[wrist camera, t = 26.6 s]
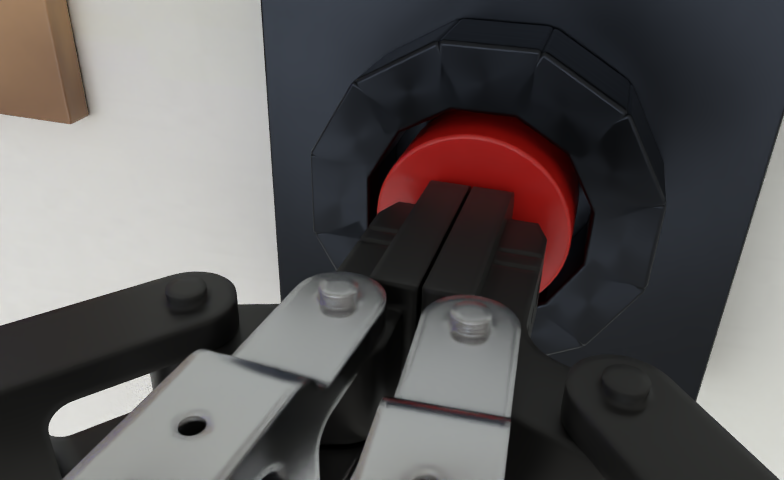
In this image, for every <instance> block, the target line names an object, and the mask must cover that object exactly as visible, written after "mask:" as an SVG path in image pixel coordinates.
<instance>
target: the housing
mask: <svg viewBox="0 0 784 480" xmlns="http://www.w3.org/2000/svg"><path fill="white" fill-rule="evenodd" d="M261 12H262V27H263V42H264V57H265V72H266V86H267V101H268V116H269V131H270V146H271V161H272V176H273V191H274V205H275V220H276V235H277V250H278V265H279V280H280V295H281V302H282V301H283V300H284V299H285V298H286V297H287V296H288V295H289V293H290V292H291V291H292V290H293V289H294V288H295V287H296V286H297V285H298V284H299V283H301V282H302V281H304V280H305V279H307V278H310V277H312V276H315V275H318V274H322V273H327V272H336V271H337V270H338V268H339V267H340V265H341V264H342V263H343V261H344V260H345V259H346V257H347V256H348V254H349V253H350V252H351V250H352V249H353V247H354V246H355V245H356V243H357V242H358V241H360V238H361V236H362V235H363V234H364V232H365V231H366V229H368V228H369V225H370V224H371V222H372V221H373V220H374V218H375V217H376V215H377V206H378V198H379V194H380V190H381V187H382V185H383V182H384V180H385V178H386V176H387V174H388V173H389V171H390V169H391V168H392V167H393V166H394V164H395V163H396V162H397V160H398V159H399V158H400V156H401V155H402V154H403V153H404V151H405V150H406V149H407V147H408V146H409V145H410V143H411V142H412V141H413V140H414V138H415V137H416V136H417V135H418V133H419V132H420V131H421V130H422V129H423V128H424V127H425V126H426V125H427V124H428V123H430V122H431V121H432V120H434V119H435V118H437V117H438V116H440V115H442V114H444V113H446V112H449V111H451V110H458V111H466V112H474V113H483V114H491V115H499V116H507V117H515V118H517V119H519V120H520V121H521V122H523V123H524V124H526V125H527V126H528V127H530V128H531V129H533V130H534V131H535V132H537V133H538V134H540V135H541V136H542V137H544V138H545V139H546V140H548V141H549V142H551V143H552V144H553V145H555V146H556V147H558V148H559V149H560V150H562V151H563V152H565V153H566V154H567V155H568V157H569V160H570V162H571V164H572V166H573V169H574V171H575V173H576V175H577V178H578V183H579V200H578V208H577V213H576V219H575V224H574V230H573V235H572V241H571V246H570V250H569V254H568V256H567V259H566V261H565V264H564V266H563V267H562V269H561V271H560V272H559V274H558V275H557V277H556V278H555V279H554V280H553V281H552V282H551V284H550V285H548V286H547V287H546V288H545V289H544V290H543V291H542V292H540V293H539V298H538V304H537V311H536V315H535V320H534V324H533V328H532V333H531V337H530V339H531V340H532V342H533V343H534V344H535V345H536V346H537V347H538V348H539V349H540V350H541V351H542V352H543V353H545V354H546V355H547V356H549V357H551V358H552V359H554V360H556V361H558V362H560V363H562V364H564V365H566V366H569V367H572V366H573V365H574V364H576V363H577V362H578V361H580V360H582V359H584V358H587V357H590V356H595V355H604V354H612V355H621V356H627V357H631V358H635V359H638V360H641V361H643V362H646V363H648V364H650V365H652V366H654V367H656V368H657V369H659V370H661V371H662V372H663V373H665V374H666V375H667V376H668V377H670V378H671V379H672V380H673V381H674V382H675V383H676V384H677V385H678V386H679V387H680V388H681V389H683V390H684V391H685V392H686V393H687V394H688V395H689V396H690V397H691V398H692V399H693V400H694V401H695V402H696V400H697V397H698V393H699V390H700V387H701V384H702V380H703V377H704V374H705V371H706V367H707V364H708V361H709V358H710V354H711V351H712V348H713V344H714V341H715V338H716V335H717V331H718V328H719V325H720V322H721V318H722V315H723V312H724V309H725V305H726V302H727V299H728V296H729V292H730V289H731V286H732V282H733V279H734V276H735V273H736V269H737V266H738V263H739V260H740V256H741V253H742V250H743V247H744V243H745V240H746V237H747V234H748V230H749V227H750V224H751V220H752V217H753V214H754V211H755V207H756V204H757V201H758V198H759V194H760V191H761V188H762V185H763V181H764V178H765V175H766V172H767V168H768V165H769V162H770V158H771V155H772V152H773V149H774V145H775V142H776V139H777V136H778V132H779V129H780V126H781V123H782V119H783V116H784V0H261Z"/></svg>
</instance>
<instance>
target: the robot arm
mask: <svg viewBox="0 0 784 480" xmlns="http://www.w3.org/2000/svg"><path fill="white" fill-rule="evenodd" d="M513 207H514V192H508V191H502V190H495V189H488V188H482V187H475V186H473V188H471V186H467V185H461V184H454V183H447V182H440V181H434V180H431V181H430V182H429V183H428V185H427V187H426V188H425V190H424V191H423V193H422V194H421V196H420V198H419V199H418V201H417V202H416V204H411V203H405V202H397V203H395V204H393V205H391V206H389V207H388V208H386V209H384V210H382V211H380V212H379V213H378V214H377V215H376V217H375V218H374V220H373V221H372V222H371V224H370V225H369V228H368V229H366V231H365V232H364V234H363V235H362V236H361V238H360V241H358V242H357V243H356V245H355V246H354V247H353V249H352V250H351V252H350V253H349V254H348V256H347V257H346V259H345V260H344V261H343V263H342V264H341V265H340V267H339V268H338V270H337V271H336V272H327V273H322V274H318V275H315V276H312V277H310V278H307V279H305V280H304V281H302V282H301V283H299V284H298V285H297V286H296V287H295V288H294V289H293V290H292V291H291V292H290V293H289V295H288V296H287V297H286V298H285V299H284V300H283V301H282V302H281V303H280V304H243V305H238V302H237V292H236V288H235V286H234V285H233V283H232V282H231V281H229V280H228V279H226V278H225V277H223V276H220V275H218V274H213V273H208V272H185V273H179V274H175V275H171V276H167V277H164V278H160V279H157V280H154V281H150V282H147V283H143V284H140V285H137V286H133V287H130V288H127V289H123V290H120V291H116V292H113V293H110V294H106V295H103V296H100V297H96V298H93V299H89V300H86V301H83V302H79V303H76V304H73V305H69V306H66V307H62V308H59V309H56V310H52V311H49V312H45V313H42V314H39V315H35V316H32V317H29V318H25V319H22V320H18V321H15V322H12V323H8V324H5V325H2V326H0V480H779V479H778V478H777V477H776V476H775V475H774V474H773V473H772V472H771V471H770V470H769V469H767V468H766V467H765V466H764V465H763V464H762V463H761V462H760V461H759V460H758V459H757V458H756V457H755V456H754V455H752V454H751V453H750V452H749V451H748V450H747V449H746V448H745V447H744V446H743V445H742V444H741V443H740V442H738V441H737V440H736V439H735V438H734V437H733V436H732V435H731V434H730V433H729V432H728V431H727V430H726V429H724V428H723V427H722V426H721V425H720V424H719V423H718V422H717V421H716V420H715V419H714V418H713V417H712V416H711V415H709V414H708V413H707V412H706V411H705V410H704V409H703V408H702V407H701V406H700V405H699V404H698V403H697V402H695V401H694V400H693V399H692V398H691V397H690V396H689V395H688V394H687V393H686V392H685V391H684V390H683V389H681V388H680V387H679V386H678V385H677V384H676V383H675V382H674V381H673V380H672V379H671V378H670V377H668V376H667V375H666V374H665V373H663V372H662V371H661V370H659V369H657V368H656V367H654V366H652V365H650V364H648V363H646V362H643V361H641V360H638V359H635V358H631V357H627V356H621V355H612V354H604V355H595V356H590V357H587V358H584V359H582V360H580V361H578V362H577V363H576V364H574V365H573V366H572V367H569V366H566V365H564V364H562V363H560V362H558V361H556V360H554V359H552V358H551V357H549V356H547V355H546V354H545V353H543V352H542V351H541V350H540V349H539V348H538V347H537V346H536V345H535V344H534V343H533V342H532V340H531V339H530V337H531V333H532V328H533V324H534V320H535V315H536V311H537V304H538V298H539V291H540V284H541V277H542V271H543V264H544V257H545V251H546V244H547V238H546V236H545V235H544V233H543V231H542V229H541V227H540V225H539V224H538V223H532V222H526V221H520V220H513V219H512V215H513ZM149 373H150V377H151V382H152V387H153V391H152V392H151V393H150V394H149V395H148V396H147V397H146V398H145V399H144V400H143V401H142V402H141V403H140V404H139V405H138V406H137V407H136V408H135V409H134V410H133V411H132V412H130V413H128V414H125V415H122V416H120V417H117V418H115V419H112V420H109V421H107V422H104V423H102V424H99V425H96V426H94V427H91V428H89V429H86V430H83V431H81V432H78V433H75V434H73V435H70V436H66V437H54V436H51V435H49V432H48V426H49V422H50V420H51V418H52V417H53V415H54V414H55V413H56V412H57V411H58V410H59V409H60V408H61V407H62V406H64V405H66V404H67V403H69V402H72V401H74V400H77V399H80V398H82V397H85V396H88V395H91V394H94V393H96V392H99V391H102V390H105V389H107V388H110V387H113V386H116V385H118V384H121V383H124V382H127V381H130V380H132V379H135V378H138V377H141V376H143V375H146V374H149Z"/></svg>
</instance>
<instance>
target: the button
mask: <svg viewBox="0 0 784 480" xmlns="http://www.w3.org/2000/svg"><path fill="white" fill-rule="evenodd" d="M431 180H434V181H440V182H447V183H454V184H461V185H467V186H471V188H473V186H475V187H482V188H488V189H495V190H502V191H508V192H514V207H513V215H512V219H513V220H520V221H526V222H532V223H538V224H539V225H540V227H541V229H542V231H543V233H544V235H545V236H546V238H547V244H546V251H545V257H544V264H543V271H542V277H541V284H540V291H539V293H540V292H542V291H543V290H544V289H545V288H546V287H547V286H548V285H550V284H551V282H552V281H553V280H554V279H555V278H556V277H557V275H558V274H559V272H560V271H561V269H562V267H563V266H564V264H565V261H566V259H567V256H568V254H569V250H570V246H571V241H572V235H573V230H574V224H575V219H576V213H577V208H578V200H579V183H578V178H577V175H576V173H575V171H574V169H573V166H572V164H571V162H570V160H569V157H568V155H567V154H566V153H565V152H563V151H562V150H560V149H559V148H558V147H556V146H555V145H553V144H552V143H551V142H549V141H548V140H546V139H545V138H544V137H542V136H541V135H540V134H538V133H537V132H535V131H534V130H533V129H531V128H530V127H528V126H527V125H526V124H524V123H523V122H521V121H520V120H519V119H517V118H515V117H507V116H499V115H491V114H483V113H474V112H466V111H458V110H451V111H449V112H446V113H444V114H442V115H440V116H438V117H437V118H435V119H434V120H432V121H431V122H430V123H428V124H427V125H426V126H425V127H424V128H423V129H422V130H421V131H420V132H419V133H418V135H417V136H416V137H415V138H414V140H413V141H412V142H411V143H410V145H409V146H408V147H407V149H406V150H405V151H404V153H403V154H402V155H401V156H400V158H399V159H398V160H397V162H396V163H395V164H394V166H393V167H392V168H391V169H390V171H389V173H388V174H387V176H386V178H385V180H384V182H383V185H382V187H381V190H380V194H379V198H378V206H377V214H378V213H379V212H380V211H382V210H384V209H386V208H388V207H389V206H391V205H393V204H395V203H397V202H405V203H411V204H416V202H417V201H418V199H419V198H420V196H421V194H422V193H423V191H424V190H425V188H426V187H427V185H428V183H429V182H430V181H431Z"/></svg>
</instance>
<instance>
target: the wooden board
mask: <svg viewBox="0 0 784 480" xmlns="http://www.w3.org/2000/svg"><path fill="white" fill-rule="evenodd" d="M0 114H5V115H12V116H18V117H25V118H32V119H39V120H46V121H52V122H59V123H66V124H72V123H74V122H76V121H78V120H80V119H82V118H85V117H87V116H88V114H89V113H88V108H87V103H86V98H85V93H84V88H83V83H82V78H81V73H80V68H79V63H78V58H77V53H76V48H75V43H74V38H73V32H72V27H71V22H70V17H69V12H68V7H67V2H66V0H0Z"/></svg>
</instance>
